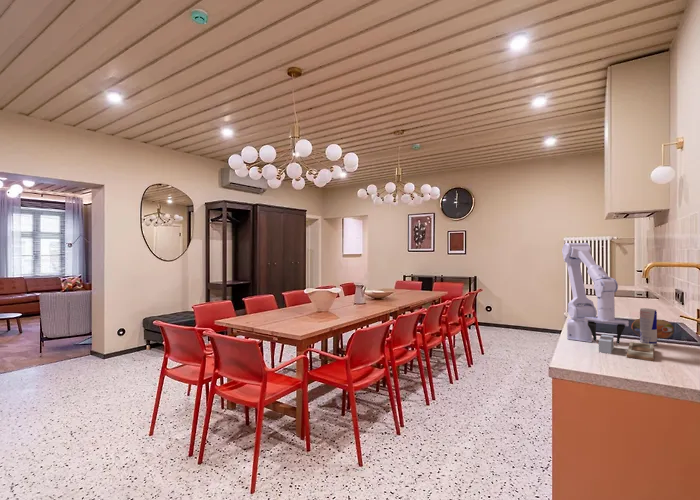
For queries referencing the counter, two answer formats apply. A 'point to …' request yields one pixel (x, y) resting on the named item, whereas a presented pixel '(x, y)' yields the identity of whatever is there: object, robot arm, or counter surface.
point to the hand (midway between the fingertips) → (606, 341)
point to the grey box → (606, 344)
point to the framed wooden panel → (641, 351)
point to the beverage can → (648, 326)
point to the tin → (663, 328)
